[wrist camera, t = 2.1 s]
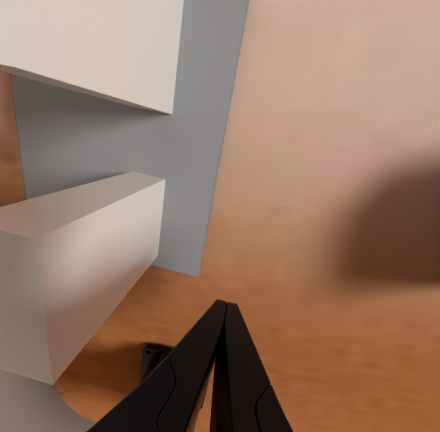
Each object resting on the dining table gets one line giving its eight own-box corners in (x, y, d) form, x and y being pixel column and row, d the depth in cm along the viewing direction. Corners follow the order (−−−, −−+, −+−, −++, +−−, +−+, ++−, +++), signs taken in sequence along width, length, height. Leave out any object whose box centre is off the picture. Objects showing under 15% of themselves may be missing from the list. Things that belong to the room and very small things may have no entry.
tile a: (157, 255, 17) (52, 384, 8) (126, 248, 17) (-10, 366, 8) (165, 178, 15) (35, 238, 6) (130, 171, 15) (-48, 218, 6)
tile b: (172, 114, 13) (15, 67, 5) (133, 106, 14) (-91, 46, 5) (184, -12, 11) (-58, -550, 2) (138, -20, 12) (-243, -546, 3)
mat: (199, 273, 18) (197, 277, 17) (36, 233, 18) (30, 235, 18) (252, -21, 11) (252, -28, 11) (3, -59, 12) (-7, -67, 12)
